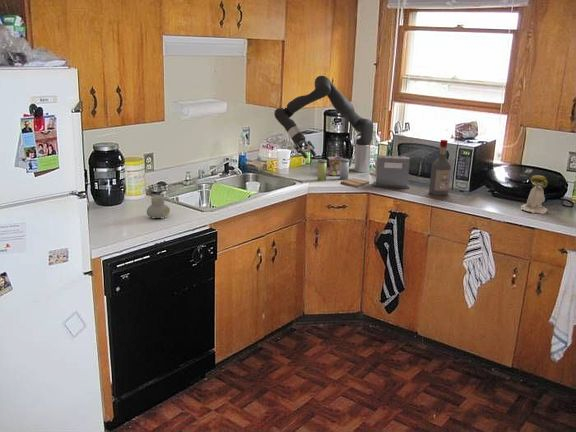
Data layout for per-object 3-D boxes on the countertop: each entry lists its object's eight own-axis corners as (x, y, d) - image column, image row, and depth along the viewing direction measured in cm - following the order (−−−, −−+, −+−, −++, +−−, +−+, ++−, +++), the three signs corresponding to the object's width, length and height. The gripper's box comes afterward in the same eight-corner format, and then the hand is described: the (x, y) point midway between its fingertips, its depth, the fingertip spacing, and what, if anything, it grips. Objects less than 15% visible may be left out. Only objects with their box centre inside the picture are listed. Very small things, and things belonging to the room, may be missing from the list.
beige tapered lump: (516, 206, 313) (521, 172, 308) (540, 207, 314) (545, 173, 309) (526, 213, 302) (531, 178, 297) (550, 213, 303) (556, 178, 297)
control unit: (373, 182, 354) (375, 154, 349) (407, 184, 352) (410, 156, 347) (374, 186, 345) (376, 157, 340) (409, 188, 344) (411, 159, 338)
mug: (342, 173, 375) (343, 156, 372) (342, 177, 366) (343, 160, 363) (323, 172, 376) (324, 156, 373) (322, 176, 367) (323, 159, 364)
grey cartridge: (342, 177, 365) (343, 158, 361) (349, 178, 362) (351, 159, 358) (338, 179, 361) (339, 159, 357) (345, 180, 358) (346, 160, 354)
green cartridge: (320, 178, 361) (321, 159, 357) (327, 180, 358) (328, 160, 354) (315, 180, 357) (316, 160, 353) (322, 181, 354) (323, 161, 350)
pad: (351, 180, 359) (351, 178, 359) (368, 183, 352) (369, 181, 352) (340, 183, 350) (340, 181, 350) (357, 187, 343) (358, 185, 343)
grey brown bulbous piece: (161, 221, 276) (160, 200, 273) (145, 219, 278) (143, 199, 275) (171, 214, 286) (171, 194, 283) (156, 213, 288) (155, 193, 285)
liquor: (450, 195, 332) (456, 141, 323) (435, 196, 330) (441, 142, 321) (441, 190, 341) (446, 138, 331) (427, 191, 338) (432, 139, 329)
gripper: (300, 137, 369) (314, 158, 365) (285, 140, 358) (299, 162, 355) (307, 130, 364) (321, 151, 360) (292, 132, 353) (307, 154, 350)
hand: (310, 156), depth 358 cm, fingers open, 8 cm apart
